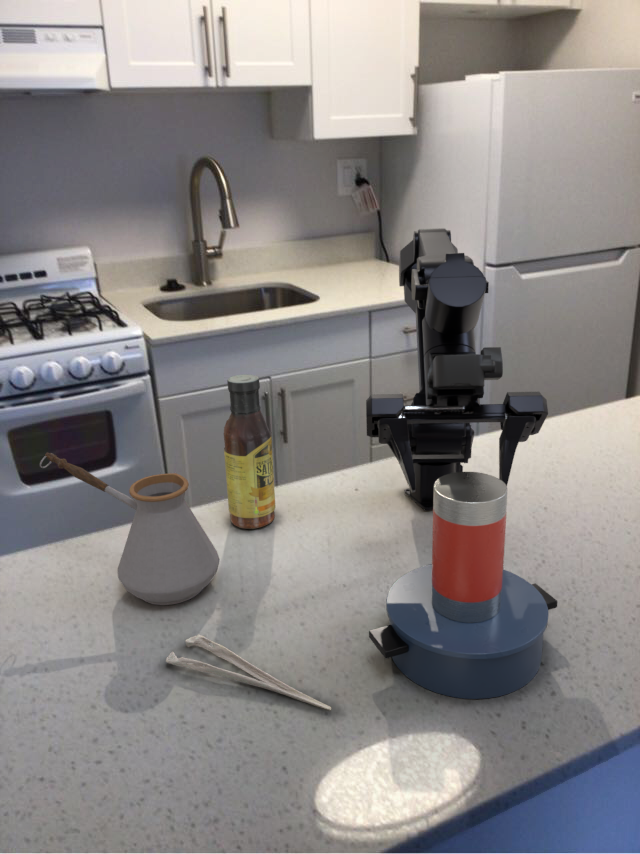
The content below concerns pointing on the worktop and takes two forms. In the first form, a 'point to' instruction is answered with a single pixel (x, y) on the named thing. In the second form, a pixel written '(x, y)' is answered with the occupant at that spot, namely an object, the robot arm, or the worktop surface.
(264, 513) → the sauce bottle
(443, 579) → the tin can
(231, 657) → the tweezers
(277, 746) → the worktop surface
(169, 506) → the coffee pot
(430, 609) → the enamel pot
